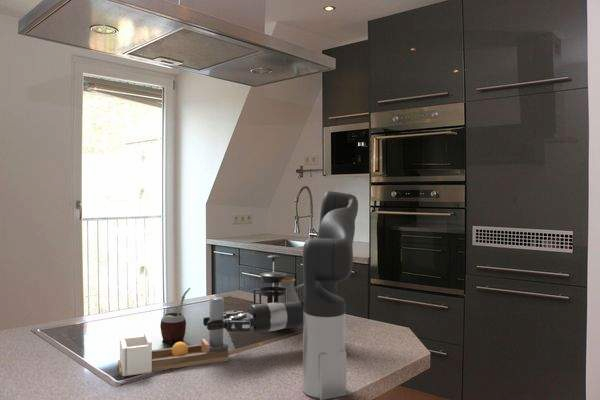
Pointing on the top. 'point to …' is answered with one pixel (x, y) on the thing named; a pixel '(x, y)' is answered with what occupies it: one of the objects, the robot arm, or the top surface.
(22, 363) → the top surface
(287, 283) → the coffee pot
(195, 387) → the top surface
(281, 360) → the top surface
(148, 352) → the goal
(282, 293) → the french press
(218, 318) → the grey tall cylindrical piece
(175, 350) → the ball
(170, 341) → the mate gourd
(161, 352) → the track
